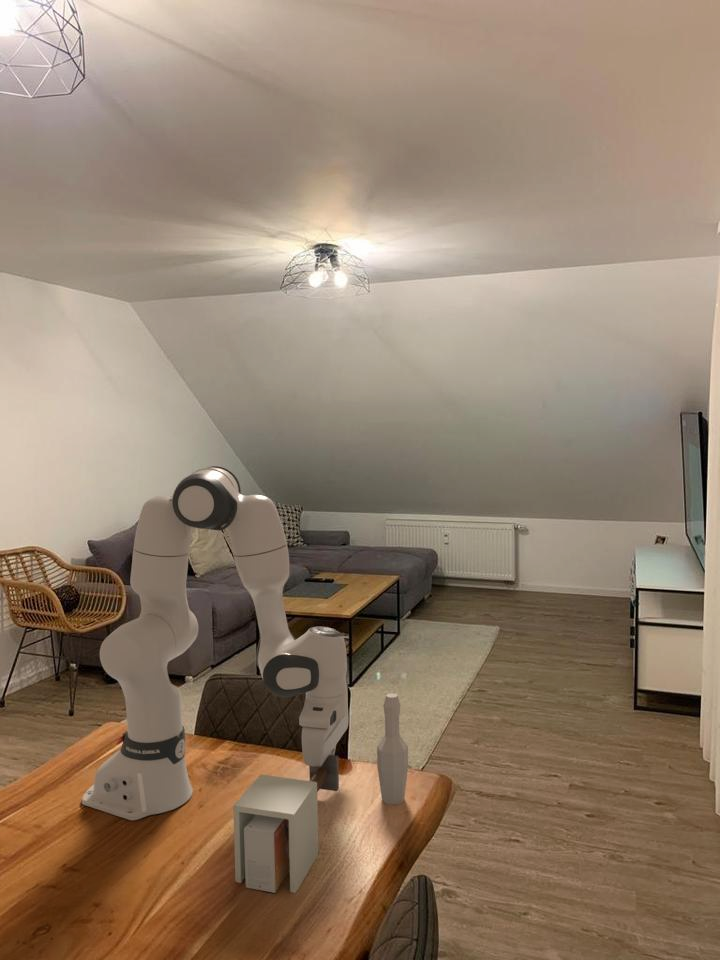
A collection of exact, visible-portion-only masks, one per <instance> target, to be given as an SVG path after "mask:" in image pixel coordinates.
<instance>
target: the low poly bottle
mask: <svg viewBox="0 0 720 960" xmlns="http://www.w3.org/2000/svg"><path fill="white" fill-rule="evenodd" d="M384 698H385V699H384V703H383V712H384V713H383V714H384V729H385V730H384V732H385V733H384V735H383V737H382V738H381V740H380V741H379V743H378V744H377V745H376V760H377V761H376V762H377V763H376V764H377V765H376V766H377V772H378V773H377V774H378V779H379V780H378V781H379V787H380V795H381V800H382V802H383V804H385V803H386V804H385V805H391V806H394V805H401V804H403V802H404V800H405V799H406V798H405V796H406V788H407V787H406V786H407V781H408V780H407V779H408V770H409V769H408V768H409V745H408V744H407V743H406V741H405V740H404V739H403V738H402V736H401V735H400V715H401V714H400V713H401V702H400V700H399V696H398V694H396V693H387V694H386V695H385V697H384Z"/></svg>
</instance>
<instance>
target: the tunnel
mask: <svg viewBox="0 0 720 960" xmlns="http://www.w3.org/2000/svg"><path fill="white" fill-rule="evenodd" d="M318 808H319V807H318V792H317V782H313V781H310V780H305V779H297V778H290V777H283V776H282V777H281V776H275V775H267V774H260V775H258V777H257V778H256V779H255V780H254V781H253V782H252V783H251V785H249V787H248V788H247V789H246V790H245V791H244V793H242V795H241V796H240V798H238V799H237V800H236V802H235V803H234V804H233V808H232V809H233V840H234V844H233V845H234V871H235V872H234V873H235V874H234V876H235V879H234V880H235V881H234V882H235V883H238V884H239V883H240V884H241V883H242V882H243V881H244V879H245V849H244V828H245V827H246V826H247V825H248V824H249V822H250V821H251V820H252V819H253V818H254V816H255V815H262V816H269V817H275V818H282V819H288V820H289V859H290V871H289V893H293V894H296V893H298V892H297V891H298V890H299V889H300V887H301V885H302V884H303V881H304V880H305V879H306V877H307V875H308V873H309V871H310V870H311V868H312V866H313V865H314V863H315V861H316V859H317V858H318V856H319V816H318V815H319V814H318V812H319V811H318Z"/></svg>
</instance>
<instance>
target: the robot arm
mask: <svg viewBox="0 0 720 960" xmlns="http://www.w3.org/2000/svg"><path fill="white" fill-rule="evenodd" d="M241 491H242V490H241V485H240V482H239V479H238V478H237V476H236V475H235V474H234V473H233V471H232V472H231V470H229V469H227V468H226V467H222V466H215V465H213V466H208V467H204V468H201V469H198V470H195V471H193V472H192V473H191V474H189V475H187V476H186V477H184V478H182V480H180V481H179V483H178V484H177V485H176V486H175V488H174V490H173V494H172V495H158V496H154V497H152V498H149V499H148V500H147V501H146V502H144V504H143V506H142V508H141V511H140V513H139V517H138V521H137V526H136V530H135V535H134V541H133V550H132V559H131V561H132V562H131V570H130V578H129V579H130V580H129V583H130V587H131V589H132V590H133V591H134V593H135V594H137V595H138V597H139V599H140V607H141V609H140V613H139V616H138V617H137V618H135V619H132V620H130V621H127V622H126V623H123V624H121V625H120V626H118V627H117V628H116V629H115V630H114V631H112V632H111V633H110V634H109V635H108V636H107V637H105V639H104V640H103V641H102V643H101V645H100V649H99V660H100V661H99V662H100V664H101V666H102V668H103V670H104V671H105V673H106V674H107V675H108V676H110V678H112V679H114V680H116V681H117V682H118V684H119V686H120V688H121V690H122V693H123V696H124V701H125V710H126V711H125V712H126V724H127V725H126V726H127V730H126V731H125V732H123V733H122V735H121V736H120V737H118V738H116V740H115V741H117V742H116V743H115V745H117V746H118V745H119V744H121V743H122V745H121V747H120V749H119V750H117V751H116V752H115V753H114V754H112V755H111V756H109V758H108V759H107V760H105V761H104V762H103V763H102V764H101V765H100V766H99V767H98V769H97V771H96V773H95V776H94V779H93V780H94V781H93V784H92V785H91V786H90V787H89V788H88V789H87V790H86V791H85V793H84V794H83V796H82V799H81V804H82V805H84V806H86V807H90V808H92V809H95V810H99V811H102V812H104V813H107V814H110V815H112V816H113V815H114V816H116V817H120V818H122V819H126V820H129V821H137V820H140V819H143V818H145V817H148V816H152V815H157V814H162V813H163V814H164V813H166V812H170V811H172V810H175V809H177V808H179V807H181V806H182V805H184V804H185V803H186V802H188V801H189V800H190V799H191V797H192V795H193V793H194V792H193V791H194V789H193V787H192V784H191V781H190V778H189V774H188V770H187V769H188V768H187V765H186V764H187V763H186V757H185V755H186V734H185V733H186V732H185V731H186V730H185V726H184V725H183V706H182V705H183V704H182V703H183V701H182V699H183V698H182V693H181V690H180V689H179V687H177V686H176V685H175V684H173V683H172V682H171V680H170V677H169V674H168V673H169V672H168V665H169V662H170V661H173V660H174V659H176V658H178V657H179V656H180V655H183V654H184V653H185V652H186V651H187V650H188V649H190V647H191V645H193V643H194V642H195V641H196V640H197V637H198V635H199V630H200V629H199V623H198V619H197V617H196V614H194V612H193V611H192V610H191V609H190V606H189V602H188V596H187V594H188V593H187V580H188V570H189V559H190V547H191V538H192V535H193V530H194V529H199V530H210V531H211V530H212V531H224V530H225V531H226V533H227V534H228V537H229V539H230V540H229V541H230V545H231V550H232V555H233V560H234V564H235V567H236V570H237V574H238V576H239V578H240V581H241V583H242V585H243V587H244V589H246V590H247V592H248V593H249V595H250V596H251V599H252V601H253V605H254V610H255V615H256V620H257V626H258V630H259V639H258V644H257V646H256V654H255V660H256V665H257V667H258V669H259V671H260V675H261V677H262V682H263V685H264V687H265V688H266V689H267V690H268V692H269V693H271V694H272V695H274V696H276V697H279V698H289V697H294V696H297V695H302V694H305V699H304V705H303V707H302V710H301V712H300V715H299V718H298V723H299V726H301V727H302V729H301V750H302V760H303V762H304V764H305V765H306V766H316V767H320V766H322V764H323V763H324V761H325V760H326V758H327V757H328V756H329V755H335V754H336V753H335V752H336V747H337V744H338V742H339V741H340V740H341V739H342V737H343V735H344V734H345V732H346V731H348V730H347V729H348V727H349V723H350V722H349V720H350V719H349V708H348V707H349V706H348V703H349V702H348V701H349V700H348V699H349V697H348V692H349V691H348V684H347V681H346V677H347V673H348V657H347V647H346V642H345V641H346V640H345V638H344V636H343V635H342V633H341V632H339V631H338V630H336V629H335V628H331V627H329V626H318V625H317V626H312V627H310V628H308V630H307V631H305V633H304V634H301V636H299V637H298V638H296V637H295V636H294V635H293V634H292V632H291V631H290V629H289V624H288V620H287V616H286V610H285V603H284V597H283V596H284V595H283V591H284V586H285V584H286V583H287V582H288V580H289V577H290V553H289V547H288V542H287V538H286V534H285V530H284V527H283V523H282V520H281V516H280V514H279V512H278V509H277V508H276V507H277V506H276V505H275V502H274V501H273V500H272V499H271V498H269V497H268V496H266V495H262V494H250V495H244V494H241ZM267 690H266V691H267Z"/></svg>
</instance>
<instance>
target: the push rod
mask: <svg viewBox="0 0 720 960" xmlns="http://www.w3.org/2000/svg"><path fill="white" fill-rule="evenodd" d="M339 771H340V770H339V755H335V754H334V755H329V756H328V757H327V758H326V760H325V761H324V763H323V764H322V766H320V767H316V766H309V771H308V772H309V781H313V782H317V793H318V792H319V791H320V790H324V791H333V792H338V791H339V789H340V784H339V781H340V780H339V779H340V776H339V774H340V772H339Z"/></svg>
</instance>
